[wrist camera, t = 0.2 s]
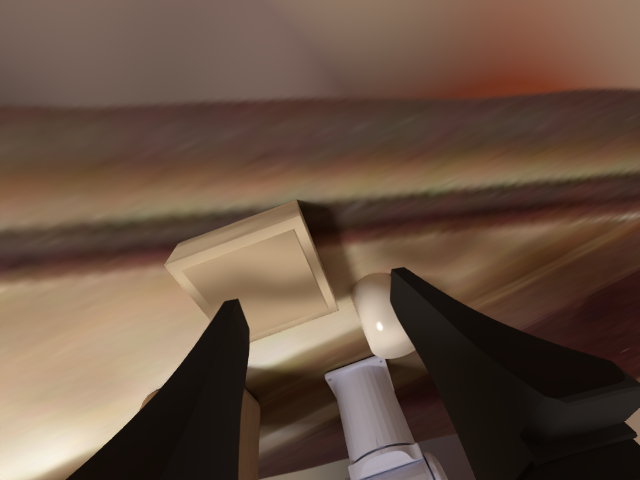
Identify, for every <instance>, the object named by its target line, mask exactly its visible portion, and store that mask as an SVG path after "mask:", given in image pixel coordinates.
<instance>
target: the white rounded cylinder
mask: <svg viewBox="0 0 640 480" xmlns="http://www.w3.org/2000/svg"><path fill="white" fill-rule="evenodd" d="M390 287H391V275H389V274H386V273H372V274H369V275H367V276H365V277H363V278H362V279H360V280H359V281H358V282H357V283H356V284H355V285H354V287H353V289H352V292H351V299H352V302H353V305H354V307H355V310H356V312H357V315H358V317H359V320H360V322H361V325H362V328H363V330H364V333H365V335H366V338H367V340H368V343H369V345H370V348H371V350H372V352H373V354H375V355H376V356H378V357H380V358H385V359H393V358H398V357H402V356H405V355H407V354H409V353H411V352H413V351H414V350H416V349H415V348H414V346H413V344H412V343H411V341H410V339H409V338H408V336H407V334H406V333H405V331H404V329H403V328H402V326H401V324H400V322H399V321H398V319H397V317H396V314H395V312H394V310H393V308H392V305H391V303H390Z"/></svg>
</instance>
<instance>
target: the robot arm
mask: <svg viewBox="0 0 640 480" xmlns="http://www.w3.org/2000/svg"><path fill="white" fill-rule="evenodd" d="M390 303H391V305H392V308H393V310H394V312H395V314H396V317H397V319H398V321H399V322H400V324H401V326H402V328H403V329H404V331H405V333H406V334H407V336H408V338H409V339H410V341H411V343H412V344H413V346H414V348H415V349H416V351H417V353H418V354H419V356H420V358H421V359H422V361H423V363H424V364H425V366H426V368H427V370H428V372H429V374H430V376H431V378H432V380H433V382H434V384H435V386H436V388H437V390H438V392H439V394H440V396H441V399H442V401H443V403H444V405H445V407H446V410H447V412H448V414H449V416H450V418H451V421H452V423H453V425H454V427H455V430H456V432H457V434H458V437H459V439H460V441H461V443H462V446H463V448H464V451H465V453H466V456H467V458H468V461H469V463H470V466H471V468H472V470H473V473H474V475H475V478H476V480H640V445H639V444H638V443H637V442H636V441H635V440H634V438H636V437H637V434H636V432H635V431H634V430H633V429H632V428H631V427H629V426H628V425H627V424H626V423H625V422H624V421H626V420H627V419H628V418H629V417H630V416H631V415H632V414H633V413H634V412H635V411H637V410H638V408H640V383H639V382H638V381H637V380H635V379H634V378H633V377H632V376H630V375H629V374H628V373H626V372H625V371H624V370H622V369H621V368H620V367H619V366H617V365H616V364H615V363H613V362H612V361H609V360H606V359H603V358H599V357H596V356H593V355H589V354H586V353H583V352H579V351H576V350H573V349H569V348H566V347H563V346H560V345H558V344H555V343H552V342H549V341H546V340H543V339H540V338H538V337H535V336H532V335H530V334H527V333H525V332H522V331H520V330H517V329H515V328H512V327H510V326H508V325H505V324H503V323H501V322H498V321H496V320H494V319H492V318H490V317H488V316H486V315H484V314H482V313H479V312H477V311H475V310H473V309H472V308H470V307H468V306H466V305H464V304H462V303H461V302H459V301H457V300H455V299H453V298H452V297H450V296H448V295H447V294H445V293H443V292H442V291H440V290H438V289H437V288H435V287H434V286H432V285H431V284H429V283H428V282H426V281H424V280H423V279H421V278H420V277H418V276H417V275H415V274H414V273H412V272H411V271H409V270H408V269H406V268H404V267H401V268H396V269H392V270H391V287H390ZM249 344H250V329H249V326H248V323H247V321H246V318H245V315H244V312H243V310H242V307H241V304H240V302H239V299H232V300H227V301H224V302H223V304H222V305H221V307H220V308H219V310H218V312H217V313H216V315H215V316H214V318H213V319H212V321H211V322H210V324H209V325H208V327H207V328H206V330H205V331H204V333H203V334H202V336H201V337H200V339H199V340H198V342H197V343H196V344H195V346H194V347H193V349H192V350H191V351H190V353H189V354H188V355H187V357H186V358H185V359H184V361H183V362H182V363H181V364H180V366H179V367H178V368H177V369H176V371H175V372H174V373H173V374H172V376H171V377H170V378H169V379H168V380H167V382H166V383H165V384H164V385H163V386H162V387H161V389H160V390H159V391H158V392H157V393H156V394H155V395H154V396H153V397H152V398H151V399H150V400H149V401H148V403H147V404H146V405H145V406H144V407H143V408H142V409H141V410H140V411H139V412H138V413H137V414H136V415H135V416H134V417H133V418H132V419H131V420H130V421H129V422H128V423H127V424H126V425H125V426H124V427H123V428H122V429H121V430H120V431H119V432H118V433H117V434H116V435H115V436H114V437H113V438H112V439H111V440H110V441H108V442H107V443H106V444H105V445H104V446H103V447H102V448H101V449H100V450H99V451H98V452H97V453H96V454H94V455H93V456H92V457H91V458H90V459H89V460H88V461H87V462H86V463H84V464H83V465H82V466H81V467H80V468H79V469H77V470H76V471H75V472H74V473H73V474H72V475H71V476H69V477H68V478H67V479H66V480H238V474H239V443H240V422H241V409H242V401H243V394H244V386H245V379H246V372H247V365H248V357H249ZM325 379H326V381H327V383H328V385H329V386H330V388H331V390H332V391H333V393H334V395H335V397H336V398H337V402H338V406H339V411H340V416H341V421H342V425H343V430H344V435H345V439H346V444H347V449H348V453H349V458H350V462H351V465H350V466H348V469H349V473H350V477H348V478H346V479H345V480H448V479H447V477H446V475H445V473H444V471H443V470H442V467H441V465H440V464H439V462H438V461H437V459H436V458H435V457H434V456H432V455H431V454H430V453H429V452H423V453H421V450H420V448H419V445H418V443H415V442H414V439H413V437H412V435H411V432H410V430H409V427H408V425H407V422H406V420H405V418H404V415H403V413H402V410H401V408H400V405H399V403H398V401H397V398H396V396H395V393H394V387H393V384H392V381H391V377H390V374H389V371H388V367H387V364H386V361H385V358H380V357H378V356H373V357H371V358H368V359H365V360H362V361H359V362H356V363H354V364H351V365H348V366H345V367H342V368H340V369H337V370H334V371H331V372H328V373H326V374H325Z"/></svg>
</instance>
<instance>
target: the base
mask: <svg viewBox="0 0 640 480" xmlns="http://www.w3.org/2000/svg"><path fill="white" fill-rule="evenodd" d="M164 266H165V267H166V268H167V270H168V271H169V272H170V273H171V274H172V276H173V277H174V278H175V279H176V280H177V281H178V283H179V284H180V285H181V286H182V287H183V288H184V290H185V291H186V292H187V293H188V294H189V296H190V297H191V298H192V299H193V300H194V301H195V303H196V304H197V305H198V306H199V307H200V308H201V310H202V311H203V312H204V313H205V314H206V315H207V317H208V318H209V319H210V320H211V321H212V319H213V318H214V316H215V315H216V313H217V312H218V310H219V308H220V307H221V305H222V304H223V302H224V301H227V300H232V299H239V302H240V304H241V307H242V310H243V312H244V315H245V318H246V321H247V323H248V326H249V329H250V342H253V341H256V340H258V339H261V338H264V337H267V336H270V335H272V334H275V333H278V332H281V331H283V330H286V329H289V328H292V327H295V326H297V325H300V324H303V323H306V322H308V321H311V320H314V319H317V318H320V317H322V316H325V315H328V314H331V313H333V312H336V311H339V310H338V307H337V304H336V300H335V297H334V294H333V291H332V288H331V285H330V283H329V280H328V278H327V275H326V273H325V270H324V268H323V265H322V263H321V260H320V258H319V255H318V253H317V250H316V248H315V245H314V243H313V240H312V238H311V235H310V232H309V230H308V227H307V225H306V222H305V220H304V217H303V215H302V212H301V210H300V207H299V205H298V202H297V200H295V201H292V202H289V203H286V204H284V205H281V206H278V207H276V208H273V209H270V210H268V211H265V212H262V213H259V214H257V215H254V216H251V217H249V218H246V219H243V220H241V221H238V222H235V223H232V224H230V225H227V226H224V227H222V228H219V229H216V230H213V231H211V232H208V233H205V234H203V235H200V236H197V237H195V238H192V239H189V240H186V241H184V242H181V243H178V245H177V246H176V248H175V249H174V251H173V252H172V254H171V255H170V257H169V259H168V260H167V262H166V263H165V265H164Z"/></svg>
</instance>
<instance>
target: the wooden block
mask: <svg viewBox="0 0 640 480" xmlns="http://www.w3.org/2000/svg"><path fill="white" fill-rule="evenodd" d="M158 391H159V390H157V391H154V392H152V393H151V394H149V395H148V396H147V397H146V399H145V400H144V401H143V404H142V406H141V408H140V410H141V409H142V408H143V407H144V406H145V405H146V404H147V403H148V401H149V400H150V399H151V398H152V397H153V396H154V395H155V394H156V393H157V392H158ZM259 431H260V406H259V403H258V402H257V401H256V400H255V399H254V397H253V396H252V395H251V394H250V393H249V392H248V391H247V390H246V389H245V388H244V394H243V401H242V409H241V422H240V443H239V474H238V480H258V455H259Z"/></svg>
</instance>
